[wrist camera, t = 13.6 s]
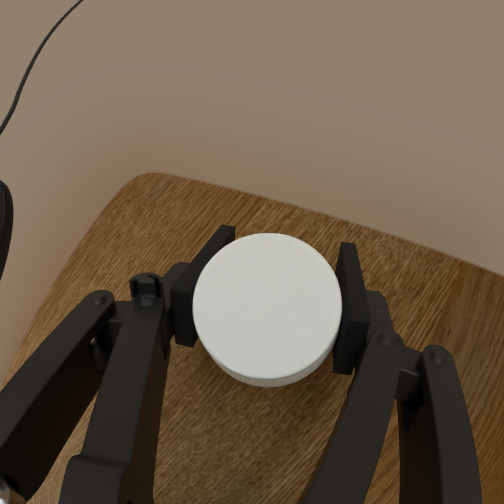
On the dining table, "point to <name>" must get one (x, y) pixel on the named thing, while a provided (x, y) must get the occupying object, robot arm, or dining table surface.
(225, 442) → the dining table surface
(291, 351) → the pill bottle
